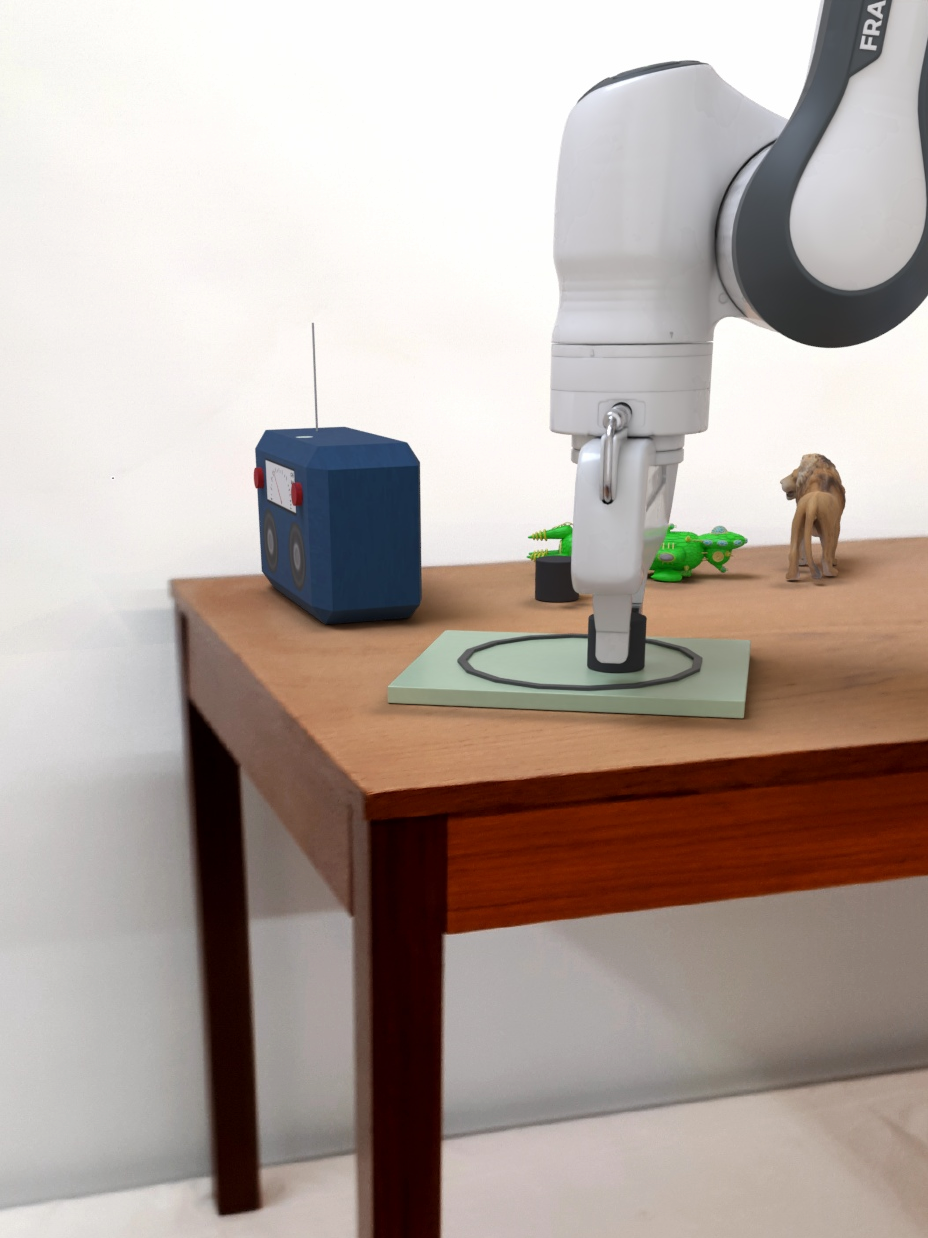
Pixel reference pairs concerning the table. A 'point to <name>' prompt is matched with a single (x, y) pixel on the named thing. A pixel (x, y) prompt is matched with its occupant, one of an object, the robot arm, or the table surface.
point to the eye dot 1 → (554, 579)
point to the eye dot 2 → (636, 650)
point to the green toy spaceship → (664, 549)
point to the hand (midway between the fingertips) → (619, 646)
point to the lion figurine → (814, 513)
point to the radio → (340, 521)
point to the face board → (576, 675)
